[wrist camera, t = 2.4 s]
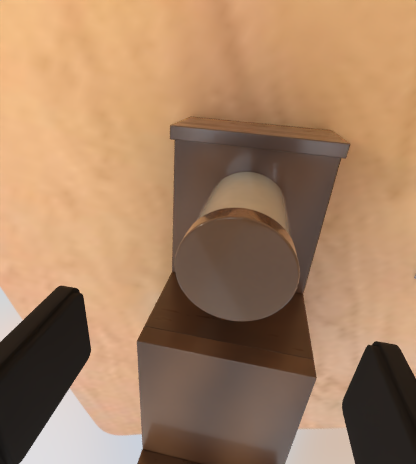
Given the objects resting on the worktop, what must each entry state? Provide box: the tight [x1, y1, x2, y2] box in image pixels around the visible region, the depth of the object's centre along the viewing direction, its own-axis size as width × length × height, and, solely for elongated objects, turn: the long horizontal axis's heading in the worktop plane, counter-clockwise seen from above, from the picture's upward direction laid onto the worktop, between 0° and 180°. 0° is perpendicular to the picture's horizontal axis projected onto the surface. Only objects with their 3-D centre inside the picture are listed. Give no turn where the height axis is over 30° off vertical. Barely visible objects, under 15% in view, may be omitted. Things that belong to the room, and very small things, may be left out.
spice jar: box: [175, 172, 300, 321], centre depth 16 cm, size 6×6×8 cm
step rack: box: [137, 117, 350, 464], centre depth 20 cm, size 10×23×13 cm, turn 175°
